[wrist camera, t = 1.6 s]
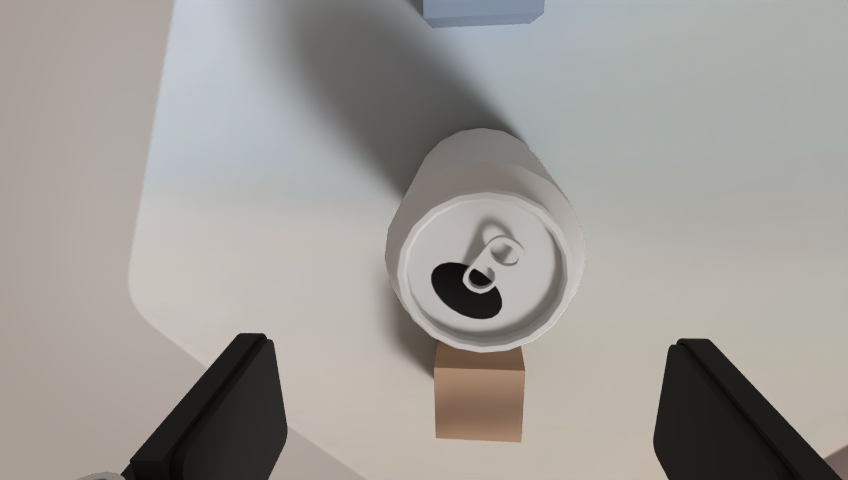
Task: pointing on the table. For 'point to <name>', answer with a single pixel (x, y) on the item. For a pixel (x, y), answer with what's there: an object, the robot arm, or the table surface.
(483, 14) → the slate block
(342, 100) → the table surface
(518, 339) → the can
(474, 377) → the walnut block
